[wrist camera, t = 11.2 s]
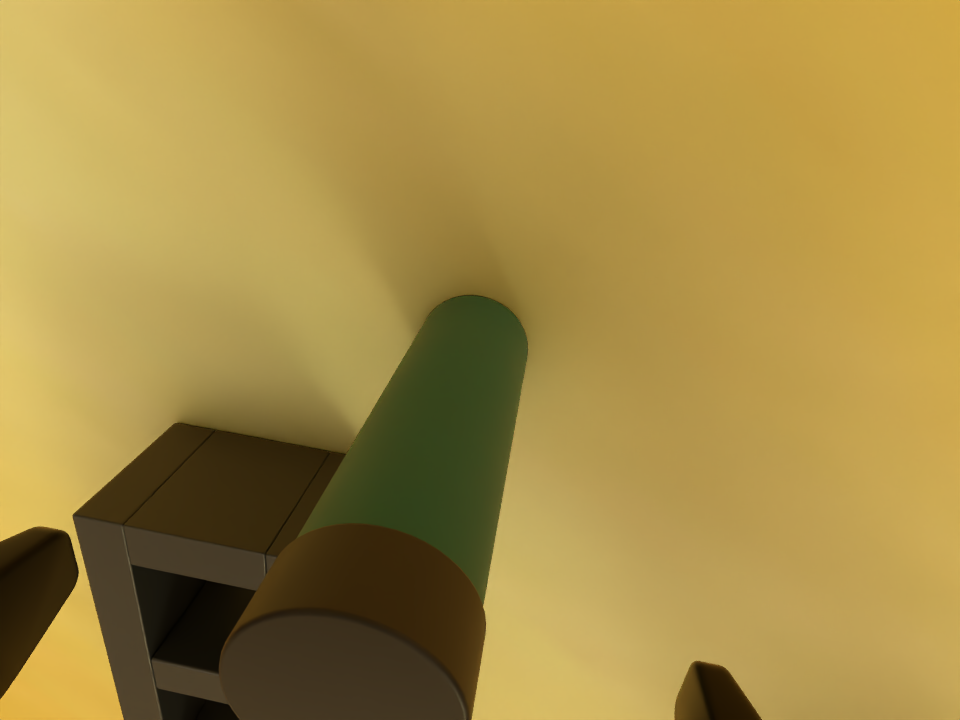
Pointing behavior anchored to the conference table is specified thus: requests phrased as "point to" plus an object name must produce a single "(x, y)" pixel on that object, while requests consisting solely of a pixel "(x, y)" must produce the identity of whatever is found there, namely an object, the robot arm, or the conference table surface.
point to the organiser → (190, 558)
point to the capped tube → (394, 544)
